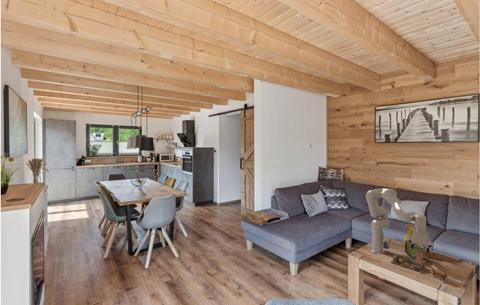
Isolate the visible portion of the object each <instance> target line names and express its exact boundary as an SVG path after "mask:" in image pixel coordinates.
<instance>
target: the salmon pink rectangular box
mask: <svg viewBox="0 0 480 305" xmlns="http://www.w3.org/2000/svg"><path fill="white" fill-rule="evenodd" d="M422 261H423V253H420V252H416V260H415V262H414V264H413V268H415V269H418V270H422V268H423V265H424V263H422Z"/></svg>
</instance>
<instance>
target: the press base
mask: <svg viewBox="0 0 480 305" xmlns="http://www.w3.org/2000/svg"><path fill="white" fill-rule="evenodd" d="M399 259H402V260H403V263H402V264H401V263H399ZM390 263H391V265H394V266H399V267H401V268H404V269H407V270H411V271H413V272H416V273H420V274H423V273H424V272H425V269H426V265H424V264H423V268H422V270H418V269H415V268H413V264H414V262H412V261H411V260H407V259H403V258H401V257H399V254H397V253H395V254H394V255H393V257H392V260H391V261H390Z"/></svg>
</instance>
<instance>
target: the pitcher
mask: <svg viewBox="0 0 480 305" xmlns="http://www.w3.org/2000/svg"><path fill="white" fill-rule="evenodd" d="M412 227H415V224H410V223H409V224H405V228H406V235H405V236H404V237H403V241H402V243H403V244H402V245H403V247H404V248H405V240H408V239H407V238H408V237H412V235H413V230H414V229H412ZM410 240H411V241H412V239H410ZM423 246H424V245H423ZM424 247H425V248H426V246H424Z"/></svg>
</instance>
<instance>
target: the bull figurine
mask: <svg viewBox="0 0 480 305" xmlns="http://www.w3.org/2000/svg"><path fill="white" fill-rule="evenodd" d="M429 267H430V268H431V271H432V275H431V278H432V277H436V278H438V277H439V278H441V282H442V283H445V281H446V280H447V279H448V274H447V273H445V272H444V271H442V270H440V269H439V268H438V267H437V266H435V265H434V264H431V265H429ZM435 275H436V276H435Z"/></svg>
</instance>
